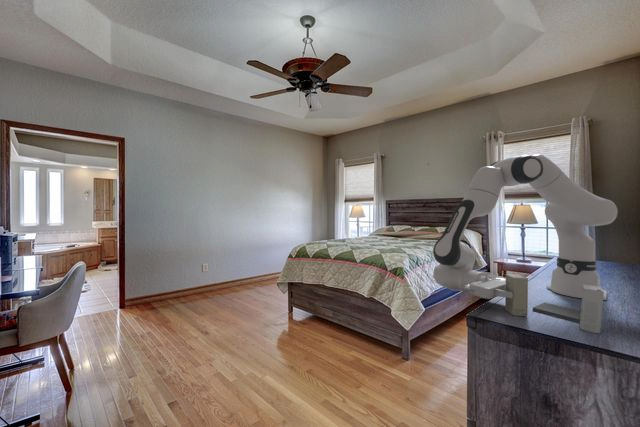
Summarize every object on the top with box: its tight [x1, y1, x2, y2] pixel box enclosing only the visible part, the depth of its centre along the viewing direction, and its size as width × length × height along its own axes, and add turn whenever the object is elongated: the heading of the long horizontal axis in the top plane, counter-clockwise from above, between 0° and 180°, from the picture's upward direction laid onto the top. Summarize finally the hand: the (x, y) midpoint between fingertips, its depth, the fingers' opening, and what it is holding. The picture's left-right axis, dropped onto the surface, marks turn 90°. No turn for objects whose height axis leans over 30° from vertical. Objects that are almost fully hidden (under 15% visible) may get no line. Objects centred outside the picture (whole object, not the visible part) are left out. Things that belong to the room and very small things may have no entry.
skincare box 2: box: [579, 285, 604, 334], centre depth 84 cm, size 6×4×12 cm
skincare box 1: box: [504, 273, 529, 317], centre depth 96 cm, size 6×4×12 cm
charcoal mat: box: [532, 302, 581, 324], centre depth 97 cm, size 10×12×1 cm
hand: (519, 293), depth 95 cm, fingers closed on skincare box 1, 7 cm apart
